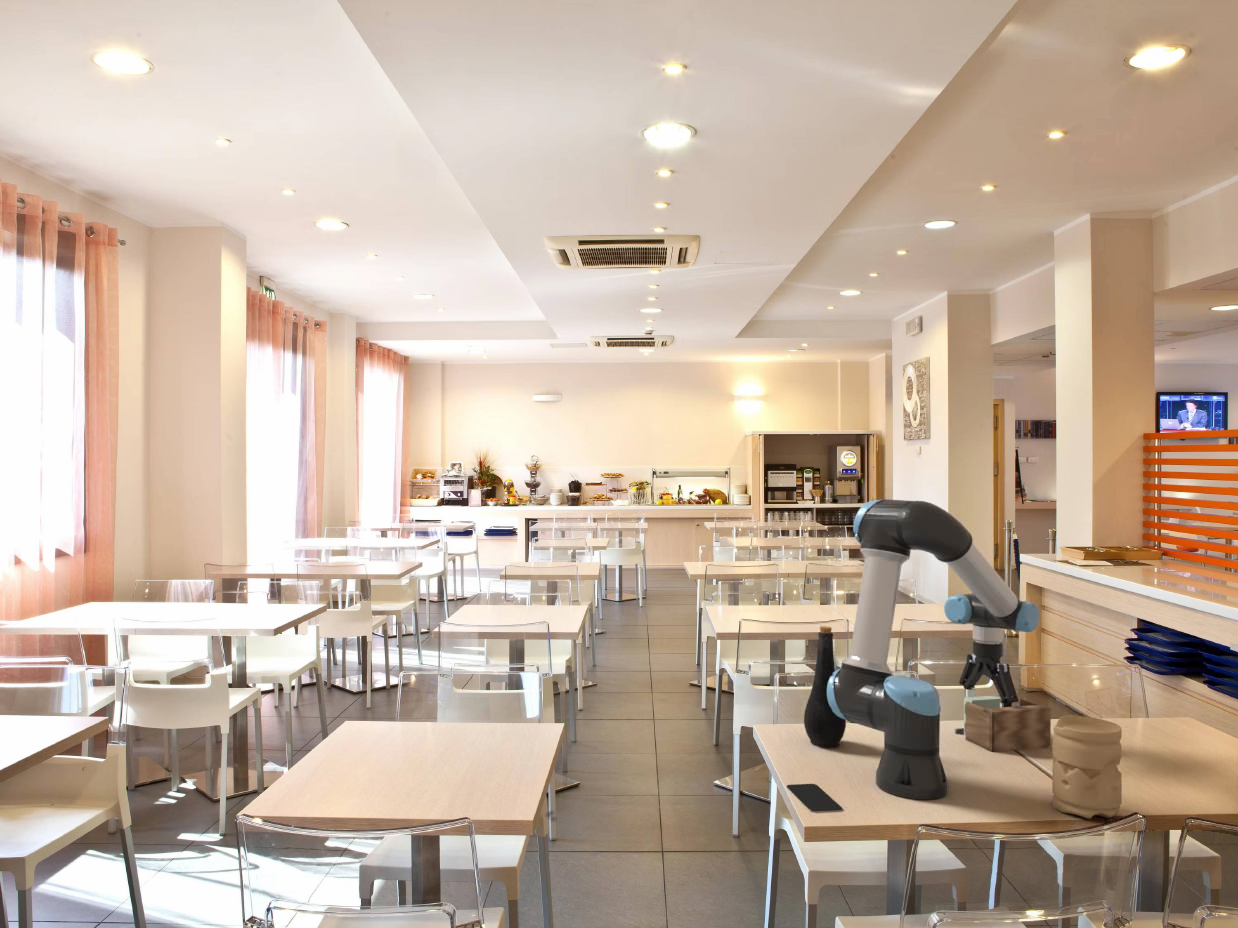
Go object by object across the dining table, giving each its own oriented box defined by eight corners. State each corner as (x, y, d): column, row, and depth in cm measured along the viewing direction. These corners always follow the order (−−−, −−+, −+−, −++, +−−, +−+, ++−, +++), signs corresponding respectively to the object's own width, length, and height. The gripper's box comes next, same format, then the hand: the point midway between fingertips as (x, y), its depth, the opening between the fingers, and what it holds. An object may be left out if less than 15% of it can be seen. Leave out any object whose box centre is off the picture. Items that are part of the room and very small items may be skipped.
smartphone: (815, 783, 184) (844, 809, 169) (815, 786, 184) (844, 812, 169) (784, 784, 183) (811, 811, 168) (784, 787, 183) (811, 814, 168)
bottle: (850, 741, 215) (852, 626, 215) (838, 752, 206) (839, 632, 206) (811, 734, 220) (812, 622, 221) (797, 744, 212) (799, 627, 212)
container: (1056, 816, 168) (1057, 728, 168) (1048, 795, 179) (1048, 712, 180) (1127, 826, 163) (1127, 735, 164) (1114, 803, 175) (1114, 719, 175)
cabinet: (991, 751, 208) (991, 711, 209) (952, 733, 223) (952, 696, 224) (1050, 746, 213) (1050, 707, 213) (1007, 729, 228) (1008, 692, 228)
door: (971, 737, 220) (971, 700, 220) (963, 734, 223) (964, 697, 223) (1009, 734, 223) (1009, 697, 223) (1001, 731, 226) (1001, 694, 226)
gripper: (1033, 649, 212) (1033, 732, 212) (968, 632, 237) (968, 706, 236) (1008, 650, 211) (1008, 734, 210) (946, 633, 235) (945, 707, 234)
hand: (987, 719), depth 223 cm, fingers open, 13 cm apart
